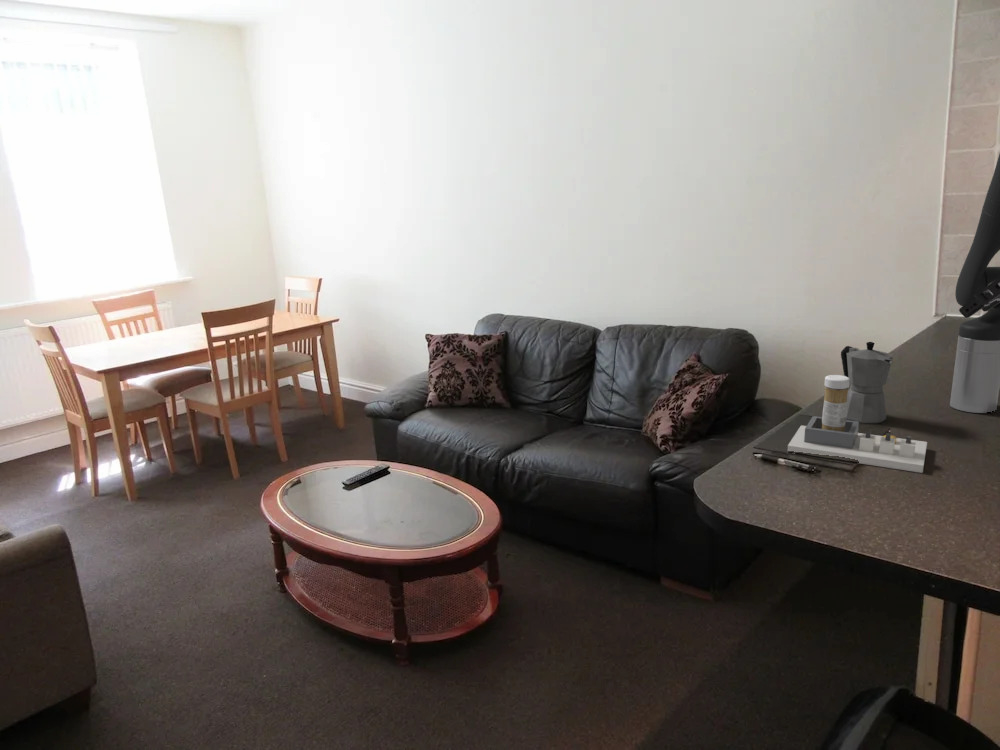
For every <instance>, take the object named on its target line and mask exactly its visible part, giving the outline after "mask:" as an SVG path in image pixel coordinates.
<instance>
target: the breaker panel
mask: <svg viewBox="0 0 1000 750" xmlns="http://www.w3.org/2000/svg"><path fill="white" fill-rule="evenodd" d="M859 426H860V423H859V422H858V421H850V420H848V419H846V422H845V427H844V432H840V431H833V430H825V429H822V416H817V415H816V416H815V415H812V417H811V418H810V420H809V422H808V423H807V425H802V424H801V425H800V427H799V428H798V429H797V431H796V432H795V434H794V435H793V437H792V438H791V440H790V441H789V443H788V444H787V451H794V452H803V453H811V454H819V455H829V456H839V457H845V458H850V459H855V460H858V461H859V463H858V464H862V465H868V466H875V467H881V468H887V469H893V470H899V471H900V470H901V471H908V472H913V473H921V474H924V473H923V472H924V467H925V466H924V465H925V460H926V459H925V458H926V453H927V446H928V442H927V441H922V440H915V439H912V436H910V435H906V437H905V438H900V437H897V436H896V435H892V433H889V432H886V433H885V435H877V434H876V435H875V434H871V433H872V431H871V430H866V431H865V433H861V432H859Z"/></svg>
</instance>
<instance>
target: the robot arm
mask: <svg viewBox="0 0 1000 750" xmlns="http://www.w3.org/2000/svg"><path fill="white" fill-rule="evenodd" d="M998 154H999V155H998V158H997V161H996V165H995V169H994V172H993V174H992V178H991V181H990V184H989V186H988V190H987V192H986V195H985V198H984V202H983V205H982V209H981V212H980V216H979V217H980V218H979V220H978V224H977V227H976V232H975V234H974V237H973V240H972V242H971V243H972V244H971V246H970V249H969V251H968V254H967V256H966V258H965V260H964V264H962V268H961V269H960V273H959V275H958V277H957V282H956V286H955V301H956V303H957V304H958V305H959V306H961V307H959V309H958V310H959V313H960V314H961V315H962V316H963V318H965V319H968V318H970V317H972V316H974V315H975V314H976V313H977V312H979V311H980V310H982V311H983V312H985V313H983V314H982V315H980V316H978V317H976V318H972V319H970V320H965V321H964V322H962V323H961V324H960V325H959V327H958V328H959V330H958V336H957V337H958V338H957V343H956V344H957V345H956V353H955V361H954V362H955V363H954V367H953V368H954V369H953V377H952V386H951V392H950V393H951V394H950V402H949V406H950V407H951V408H952V409H955V410H958V411H961V412H965V413H966V412H967V413H973V414H974V413H975V414H988V413H987V412H991V413H993V412H992V411H994V412H996V411H997V408H998V407H997V406H998V400H999V394H1000V266H989V264H990V263H991V260H992V259H993V258H994V257H995V255H997V253H998V252H999V251H1000V153H998ZM995 410H996V411H995Z"/></svg>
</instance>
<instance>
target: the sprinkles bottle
mask: <svg viewBox="0 0 1000 750" xmlns="http://www.w3.org/2000/svg"><path fill="white" fill-rule="evenodd" d="M849 388H850V379H849V378H848V377H846V376H844V375H840V374H830V375H826V376H825V377H824V398H823V408H822V416H821V417H822V429H825V430H833V431H840V432H844V427H845V422H846V420H847V419H846V411H847V394H848V390H849Z"/></svg>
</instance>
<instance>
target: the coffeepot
mask: <svg viewBox="0 0 1000 750" xmlns="http://www.w3.org/2000/svg"><path fill="white" fill-rule="evenodd" d="M874 346H875V342H873V341H867V342H866V348H865V349H860V348H858V347H854V346H850V345H845V347H844V348H843V349H842V350H841V352H840V358H841V363H842V371H843V376H846V377H848V378H849V379H850V381H849V383H850V385H849V388H848V394H847V411H846V420H850V421H858V422H859V424H861V423H862V424H879V423H882V422H884V421H885V420H887V413H886V411H887V410H886V409H887V408H886V402H885V393H884V391H883V389H884V385H886V383H887V380H888V376H889V373H890V369H891V366H892V364H893V358H894V356H893V355H892V354H889V353H888V352H886V351H885V352H884V351H880V350H876V349H874Z"/></svg>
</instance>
